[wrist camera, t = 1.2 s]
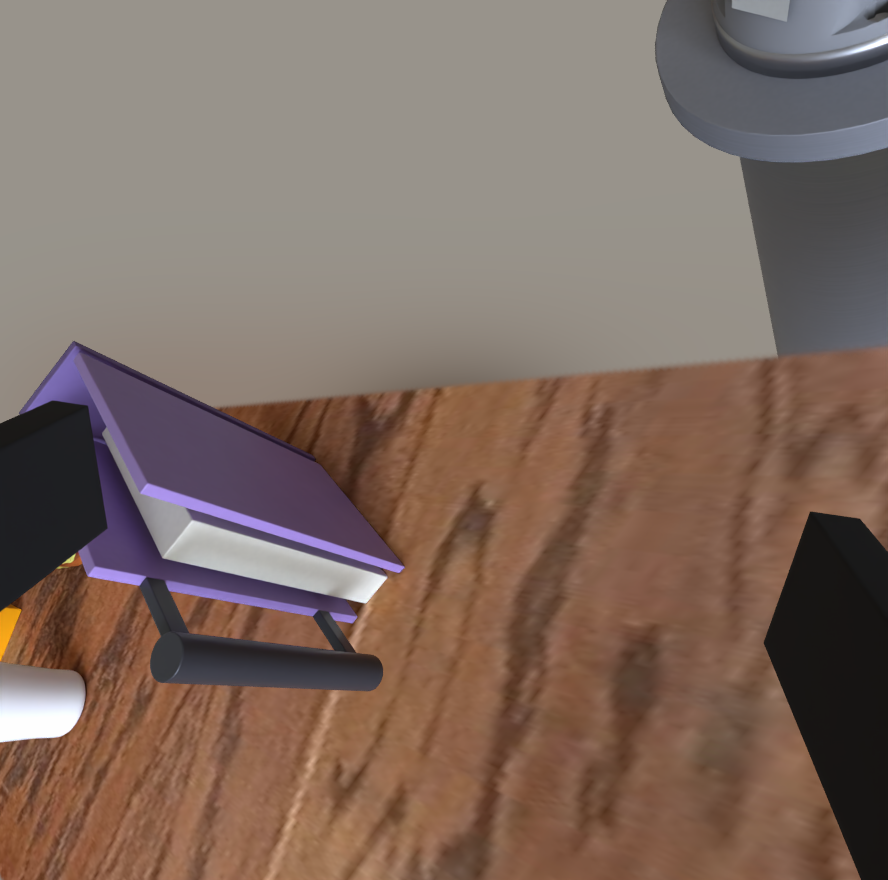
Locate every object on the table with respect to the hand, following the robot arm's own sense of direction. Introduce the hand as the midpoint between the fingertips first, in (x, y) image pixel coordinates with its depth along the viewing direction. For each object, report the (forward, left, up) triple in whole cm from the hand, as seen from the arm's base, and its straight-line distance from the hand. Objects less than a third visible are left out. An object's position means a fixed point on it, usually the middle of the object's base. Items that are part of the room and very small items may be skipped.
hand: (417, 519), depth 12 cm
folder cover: (+14, -19, -25) cm, 34 cm away
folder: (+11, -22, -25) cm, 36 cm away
